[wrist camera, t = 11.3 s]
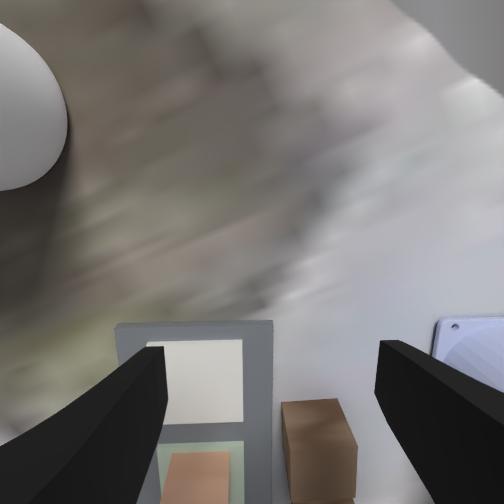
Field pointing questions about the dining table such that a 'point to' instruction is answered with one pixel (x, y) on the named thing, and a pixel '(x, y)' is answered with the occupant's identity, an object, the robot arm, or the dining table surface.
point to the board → (212, 399)
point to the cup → (27, 114)
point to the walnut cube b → (329, 501)
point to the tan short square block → (198, 479)
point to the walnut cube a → (318, 451)
